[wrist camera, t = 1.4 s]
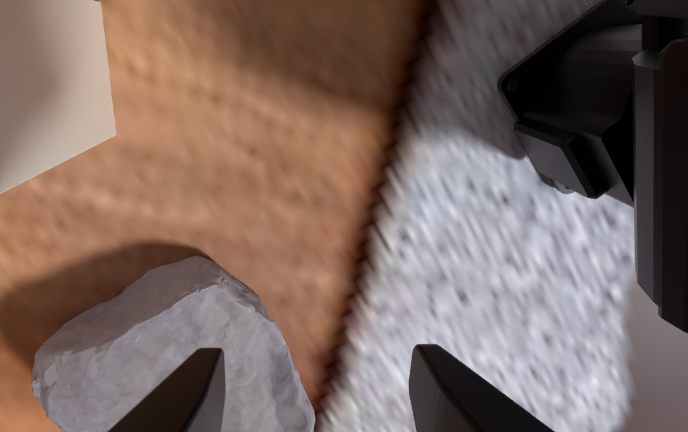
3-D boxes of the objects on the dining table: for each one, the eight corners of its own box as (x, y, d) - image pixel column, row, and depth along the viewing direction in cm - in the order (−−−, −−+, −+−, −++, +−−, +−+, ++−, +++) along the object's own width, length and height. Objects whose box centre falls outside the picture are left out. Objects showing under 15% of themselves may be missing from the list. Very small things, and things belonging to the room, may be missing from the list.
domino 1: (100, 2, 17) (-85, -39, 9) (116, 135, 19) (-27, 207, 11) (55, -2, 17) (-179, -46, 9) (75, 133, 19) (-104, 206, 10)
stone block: (216, 219, 23) (31, 332, 22) (220, 254, 18) (-12, 398, 17) (329, 379, 27) (181, 478, 26) (354, 437, 23) (178, 559, 22)
